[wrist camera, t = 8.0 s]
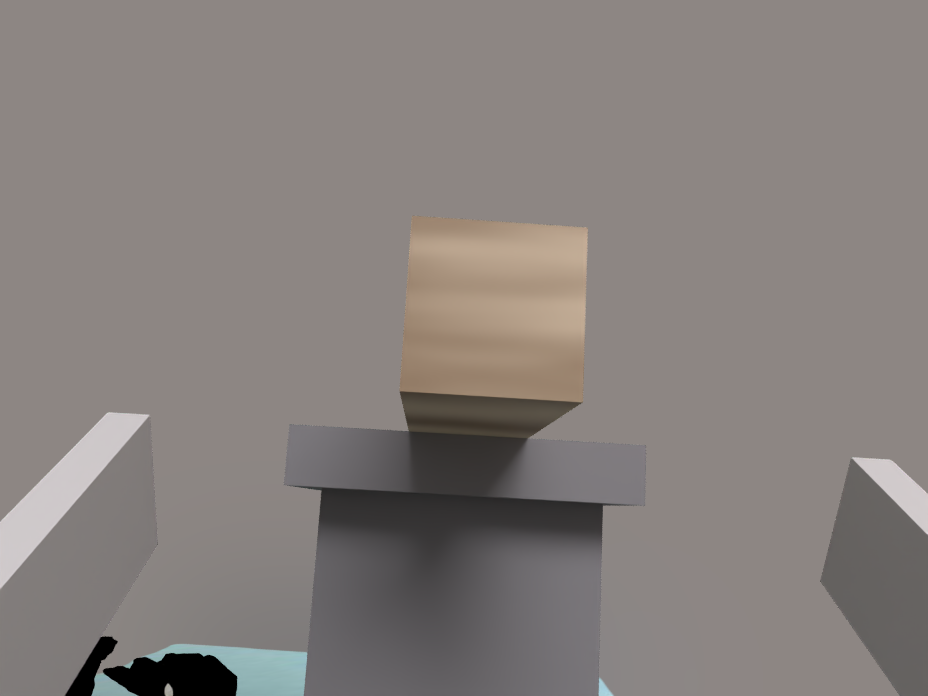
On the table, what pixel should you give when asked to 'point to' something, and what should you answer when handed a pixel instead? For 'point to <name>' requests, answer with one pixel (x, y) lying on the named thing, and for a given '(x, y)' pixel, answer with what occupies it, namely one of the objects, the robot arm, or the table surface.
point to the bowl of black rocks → (158, 674)
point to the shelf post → (457, 560)
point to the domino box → (493, 326)
